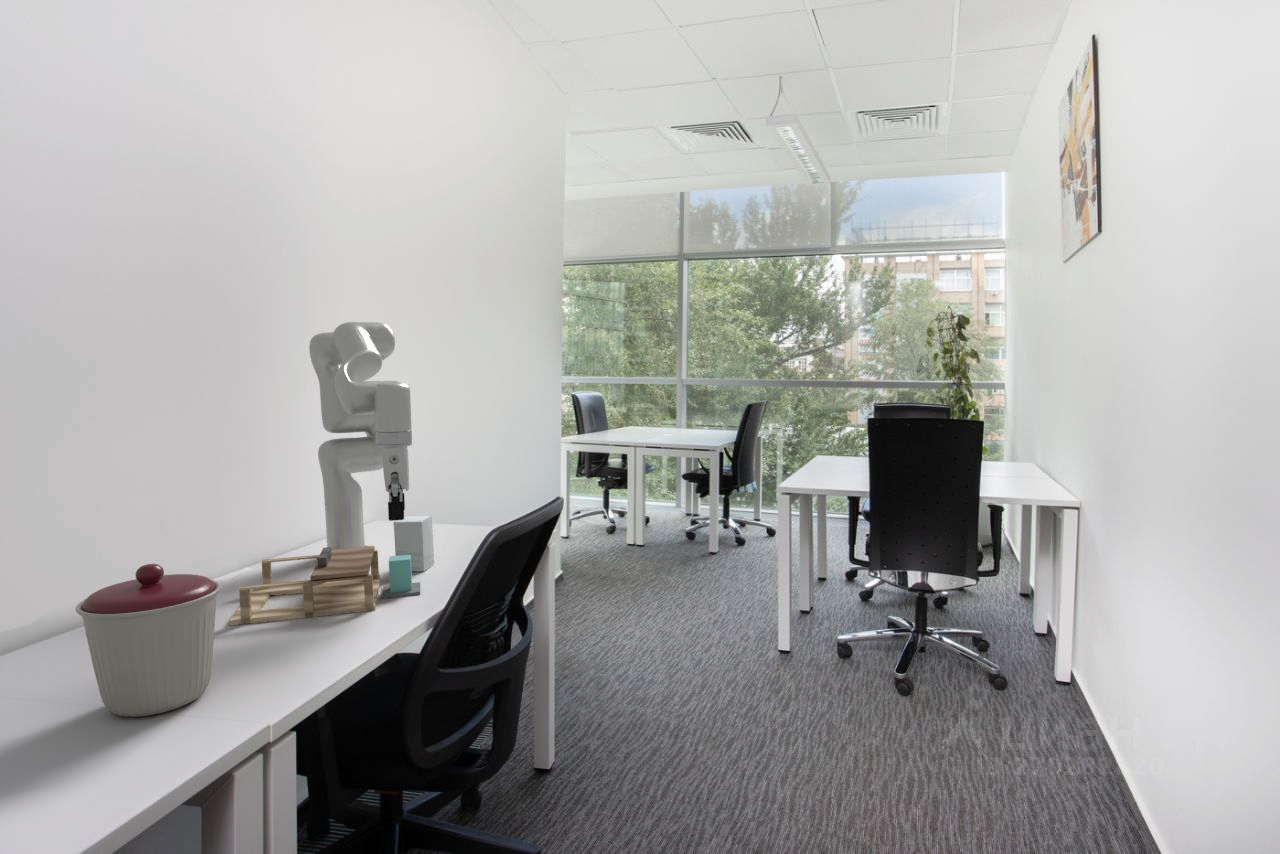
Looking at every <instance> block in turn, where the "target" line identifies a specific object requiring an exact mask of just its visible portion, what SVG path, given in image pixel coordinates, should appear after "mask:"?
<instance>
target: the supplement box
mask: <svg viewBox="0 0 1280 854" xmlns="http://www.w3.org/2000/svg"><path fill="white" fill-rule="evenodd" d="M433 532H434V531H433V516H432V515H424V516H423V515H415V516H414V515H412V516H411V515H409V516H407V515H404V519H403V520H394V521H393V535H394V537H393V538H394V551H395V552H394V553H395V555H394V556H402V555H411V573H413V572H414V571H415V572H416V573H417V572H418V573H419V572H426V571H427V570H428V569H430V568H432V567H433V566H434V565H435V553H434V533H433ZM433 564H434V565H433ZM432 565H433V566H432ZM429 567H430V568H429ZM425 570H426V571H425Z"/></svg>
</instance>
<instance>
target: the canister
mask: <svg viewBox="0 0 1280 854" xmlns="http://www.w3.org/2000/svg"><path fill="white" fill-rule="evenodd" d="M164 570H165V569H164V567H163V566H161V565H160V564H157V563H149V564H148V563H147V564H143V565H141V566H139V567H138V569H137V570H136V572H135V579H130V580H125V581H122V582H119V583H115V584H111V585H108V586H105V587H103V588H101V589H98V590H96V591H95V592H93V593H91V594H90V595H89V596H88V597H86V598H85V599H83V600H82V601H80V602H79V603H78V604H77V605H76V606H75V612H76V613H77V614H78V615H79V616H81V617H82V621H83V626H84V632H85V636H86V639H87V640H86V641H87V644H88V650H89V653H90V658H91V662H92V666H93V667H92V669H93V671H94V675H95V680H96V684H97V687H98V691H99V694H100V698H101V700H102V703H103V705H104V706H105V708H106V709H107V710H108V711H109V712H110V713H112V714H114V715H116V716H120V717H125V718H126V717H129V716H130V717H131V718H133V717H137V718H138V717H147V716H154V715H158V714H162V713H167V712H169V711H174V710H177V709H180V708H181V707H184V706H187V705H188V704H190V703H192V702H193V701H195V700H197V699H198V698H199V697H201V696H202V695H203V694H204V692H205V691H206V690H207V688H208V686H209V684H210V682H211V678H212V668H213V659H214V658H213V657H214V643H215V626H216V625H215V624H216V609H217V595H218V593H219V592H220V591H221V589H222V585H221V583H220V582H218V581H216V580H214V579H210V578H208V577H206V576H203V575H198V574H189V573H188V574H186V573H179V574H178V573H177V574H165V571H164ZM130 717H129V718H130Z"/></svg>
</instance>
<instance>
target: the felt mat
mask: <svg viewBox="0 0 1280 854" xmlns="http://www.w3.org/2000/svg"><path fill="white" fill-rule="evenodd" d="M420 595H421V581H420V582H412V591H401V592H391V593H390V584H389V585H388V584H387V585H383V587H382V593H381V599H389V598H388V597H391V598H399V597H400V596H401V597H407V596H408V597H409V596H420Z"/></svg>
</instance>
